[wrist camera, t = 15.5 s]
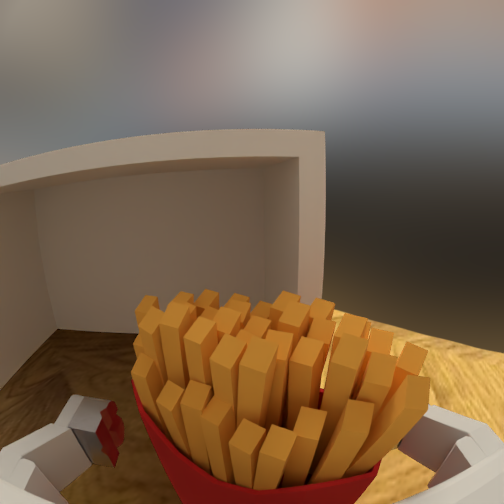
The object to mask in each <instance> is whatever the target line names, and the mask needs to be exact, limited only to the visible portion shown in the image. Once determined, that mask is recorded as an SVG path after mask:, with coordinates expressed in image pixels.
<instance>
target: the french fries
mask: <svg viewBox="0 0 504 504" xmlns="http://www.w3.org/2000/svg"><path fill="white" fill-rule="evenodd" d="M300 299H301V296H299V295H296V294H293V293H290V292H287V291H282V292H281V294H280V295H279V296H278V298H277V299H276V300H275V302H274V303H273V304H270V303H267V302H263V301H259V302H258V304H257V305H256V306H255V308H254V309H253V310H252V312H251V313H250V310H251V303H249V302H250V297H248V296H244V295H240V294H237V293H234V294H233V295H232V297H231V298H230V299H229V300H228V302H227V303H226V304H225V305H224V307H222V306H221V307H220V308H219V292H215V291H212V290H208V289H205V290H204V291H203V292H202V293H201V295H200V296H199V297H198V299H197V300H196V301H195V302H194V294H191V293H187V292H182V291H180V292H179V293H178V295H177V296H176V297H175V298H174V299H173V300H172V301H171V302H170V303H169V304H168V305H167V309H166V311H165V312H163V311H161V310H160V308H159V302H158V297H157V296H149V295H145V296H144V298H143V299H142V301H141V302H140V304H139V305H138V307H137V308H136V310H135V315H136V320H137V324H138V328H139V334H138V336H137V337H136V339H135V341H134V343H133V345H134V349H135V353H136V357H137V360H136V362H135V365H134V367H133V369H132V371H131V375H132V378H133V379H132V380H131V382H132V386H133V390H134V394H135V398H136V402H137V406H138V410H139V413H140V416H141V418H142V421H143V423H144V425H145V428H146V430H147V433H148V435H149V437H150V440H151V442H152V444H153V446H154V449H155V451H156V453H157V455H158V457H159V459H160V461H161V463H162V465H163V468H164V470H165V472H166V474H167V475H168V477H169V479H170V481H171V483H172V485H173V487H174V489H175V491H176V493H177V494H178V496H179V498H180V500H181V501H182V503H183V504H354V503H355V502H356V501H357V499H358V498H359V497H360V496H361V495H362V493H363V492H364V491H365V490H366V488H367V487H368V486H369V485H370V483H371V482H372V481H373V480H374V478H375V477H376V476H377V473H378V470H379V466H380V463H381V460H382V458H383V457H384V456H385V455H386V454H387V453H388V452H389V451H390V450H391V449H392V448H393V447H394V446H395V445H396V444H397V443H398V442H399V441H400V440H401V439H402V438H403V437H404V436H405V435H406V434H407V433H408V432H409V431H410V430H411V429H412V428H413V427H414V426H415V424H416V423H417V422H418V421H419V420H420V419H421V418H422V416H423V415H424V414H425V413H426V412H427V411H428V404H429V389H430V378H429V377H421V376H418V375H419V372H420V370H421V368H422V365H423V363H424V360H425V358H426V355H427V353H428V351H427V350H425V349H423V348H420V347H418V346H416V345H414V344H411V343H409V342H406V344H405V346H404V348H403V350H402V352H401V354H400V356H399V358H398V360H397V357H396V356H391V355H389V354H390V350H391V345H392V340H393V335H394V333H393V332H388V331H384V330H379V329H375V328H372V329H371V332H370V336H369V339H368V335H369V331H370V326H371V322H367V320H368V318H363V317H359V316H355V315H351V314H346V313H345V314H344V316H343V318H342V320H341V322H340V324H339V326H338V328H337V330H336V332H335V334H334V338H333V344H332V350H331V356H330V361H329V367H328V372H327V378H326V383H325V388H324V389H321V388H320V383H321V374H322V371H323V368H324V364H325V361H326V358H327V354H328V351H329V347H330V344H331V340H332V336H333V333H334V329H335V325H336V322H335V321H331V319H332V315H333V311H334V306H335V303H332V302H329V301H326V300H323V299H320V298H315V300H314V301H313V303H312V304H311V306H310V305H307V304H303V303H300Z"/></svg>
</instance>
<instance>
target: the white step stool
mask: <svg viewBox="0 0 504 504" xmlns="http://www.w3.org/2000/svg"><path fill="white" fill-rule="evenodd" d="M325 166H326V164H325V132H324V131H310V130H285V129H283V130H282V129H228V130H204V131H188V132H175V133H163V134H154V135H145V136H138V137H137V136H136V137H129V138H122V139H115V140H108V141H102V142H96V143H90V144H85V145H80V146H74V147H69V148H64V149H60V150H55V151H51V152H46V153H43V154H39V155H34V156H31V157H27V158H23V159H19V160H16V161H12V162H9V163H5V164H2V165H0V390H1V389H2V388H3V386H4V385H5V384H6V383H7V382H8V381H9V380H10V378H11V377H12V376H13V375H14V374H15V373H16V372H17V371H18V370H19V368H20V367H21V366H22V365H23V364H24V363H25V362H26V361H27V360H28V359H29V358H30V357H31V356H32V354H33V353H34V352H35V351H36V350H37V349H38V348H39V347H40V346H41V345H42V344H43V343H44V342H45V341H46V340H47V339H48V338H49V337H50V336H51V335H52V334H53V333H54V332H55V331H56V330H57V329H67V330H79V331H94V332H112V333H138V334H139V328H138V324H137V320H136V315H135V310H136V308H137V307H138V305H139V304H140V302H141V301H142V299H143V298H144V296H145V295H149V296H157V297H158V302H159V308H160V310H161V311H163V312H165V311H166V309H167V305H168V304H169V303H170V302H171V301H172V300H173V299H174V298H175V297H176V296H177V295H178V293H179V292H180V291H182V292H187V293H191V294H194V302H195V301H196V300H197V299H198V297H199V296H200V295H201V293H202V292H203V291H204V290H205V289H208V290H212V291H215V292H219V308H220V307H221V306H222V307H224V305H225V304H226V303H227V302H228V300H229V299H230V298H231V297H232V295H233V294H234V293H237V294H240V295H244V296H248V297H250V302H249V303H251V310H250V313H251V312H252V310H253V309H254V308H255V306H256V305H257V304H258V302H259V301H263V302H267V303H270V304H273V303H274V302H275V300H276V299H277V298H278V296H279V295H280V294H281V292H282V291H287V292H290V293H293V294H296V295H299V296H301V299H300V303H303V304H307V305H310V306H311V304H312V303H313V301H314V300H315V298H320V299H322V286H323V268H324V244H325V205H326V204H325V201H326V200H325V199H326V197H325V196H326V173H325V172H326V170H325V169H326V167H325Z"/></svg>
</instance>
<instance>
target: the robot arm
mask: <svg viewBox="0 0 504 504" xmlns="http://www.w3.org/2000/svg"><path fill="white" fill-rule="evenodd" d="M117 410H118V408H117V406H116V404H115V402H114V401H112V400H105V399H99V398H93V397H87V396H86V397H85V396H80V395H75V394H74V395H72V396H71V397H70V399H69V400H68V402H67V403H66V405H65V407H64V408H63V410H62V412H61V413H60V415H59V417H58V418H57V420H56V422H55V423H54V424H52V423H50V424H48V425H46V426H44V427H43V428H41V429H39V430H37V431H35V432H33V433H31V434H29V435H27V436H25V437H23V438H21V439H19V440H17V441H15V442H13V443H11V444H9V445H7V446H5V447H3V448H2V450H1V451H0V504H69V503H68V501H67V500H66V499H65V498H64V497H63V496H62V495H61V494H60V493H59V492H60V491H62V490H63V489H64V488H65V487H66V486H68V485H69V484H70V483H71V482H72V481H74V480H75V479H76V478H77V477H78V476H80V475H81V474H82V473H83V472H84V471H86V470H87V469H88V468H89V467H90V466H91V465H92V464H97V465H103V466H108V467H114V468H115V465H116V462H117V459H118V456H119V452H118V450H117V447H119V446H120V445H121V444H123V440H124V434H125V428H124V423H123V421H122V418H120V417H119V416H118V415H117V414H116V413H117ZM397 448H398V450H400V451H401V452H403V453H405V454H406V455H408V456H409V457H411V458H412V459H414V460H416V461H417V462H419V463H421V464H422V465H424V466H426V467H427V468H429V469H431V470H432V471H434V472H436V473H435V475H434V476H433V477H432V479H431V480H430V481H429V483H428V485H427V486H428V487H429V489H427V490H425V491H423V492H420V493H418V494H416V495H413V496H411V497H408V498H406V499H403V500H401V501H398V502H396V503H393V504H504V443H503V442H502V441H501V439H500V438H499V437H498V436H497V435H496V434H495V433H494V432H493V430H492V429H491V428H490V427H489V426H488V425H487V424H486V423H483V422H480V421H477V420H474V419H471V418H468V417H465V416H462V415H460V414H457V413H454V412H451V411H449V410H446V409H443V408H441V407H438V406H436V405H433V406H430V405H429V404H428V411H427V412H426V413H425V414H424V415H423V416H422V418H421V419H420V420H419V421H418V422H417V423H416V424H415V426H414V427H413V428H412V429H411V430H410V431H409V432H408V433H407V434H406V435H405V436H404V437H403V438H402V439H401V440H400V441H399V442H398V443H397V444H396V445H395V446H394V447H393V448H392V449H391V450H393V449H397Z"/></svg>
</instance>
